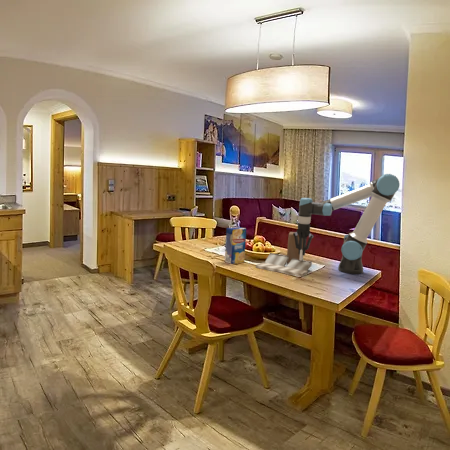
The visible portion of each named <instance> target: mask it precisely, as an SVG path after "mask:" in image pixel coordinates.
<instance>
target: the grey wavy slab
mask: <svg viewBox="0 0 450 450" xmlns="http://www.w3.org/2000/svg"><path fill="white" fill-rule="evenodd" d="M312 264H313V263H312V261H308V260H304V259H303V260H302V261H300V260H298V259H292V260H291V261H290V262H289V264H288V263H287V264H286V267H290V268H295V269H301V270H306V271H309V269H310V268H311V266H312Z"/></svg>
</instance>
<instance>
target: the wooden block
mask: <svg viewBox="0 0 450 450" xmlns="http://www.w3.org/2000/svg"><path fill="white" fill-rule="evenodd" d="M295 232H296V231H289V233H288V239H287V251H286V256H289V259H288V261H287V263H286V264H287V265H288V264H289V262H290V261H291V260H292V259H298V260H299V258H300V255H299V254H298V253H299V249H297V248H296V245H295V238H294V235H293V233H295ZM297 236H298V243H299V235H297ZM302 249H303V239H302ZM302 249H301V250H302Z"/></svg>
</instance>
